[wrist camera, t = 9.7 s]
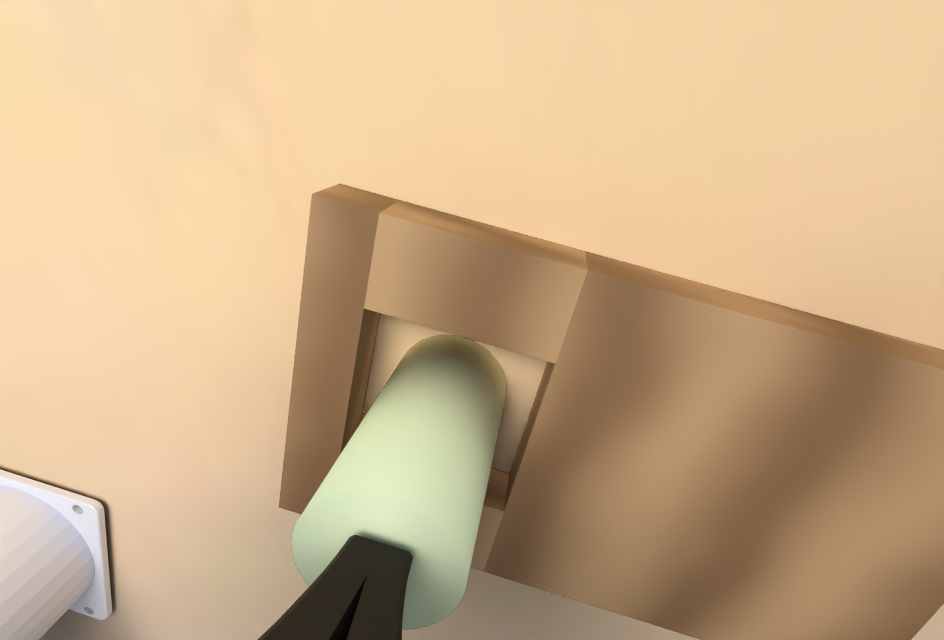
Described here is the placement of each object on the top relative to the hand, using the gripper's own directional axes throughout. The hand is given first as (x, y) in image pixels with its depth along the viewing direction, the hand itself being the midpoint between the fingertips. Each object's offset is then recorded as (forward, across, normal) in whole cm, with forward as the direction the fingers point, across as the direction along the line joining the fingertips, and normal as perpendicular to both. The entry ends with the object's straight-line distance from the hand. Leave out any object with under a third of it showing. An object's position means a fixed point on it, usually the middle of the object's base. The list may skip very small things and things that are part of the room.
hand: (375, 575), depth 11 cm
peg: (+8, 0, 0) cm, 8 cm away
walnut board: (+8, -6, 0) cm, 10 cm away
